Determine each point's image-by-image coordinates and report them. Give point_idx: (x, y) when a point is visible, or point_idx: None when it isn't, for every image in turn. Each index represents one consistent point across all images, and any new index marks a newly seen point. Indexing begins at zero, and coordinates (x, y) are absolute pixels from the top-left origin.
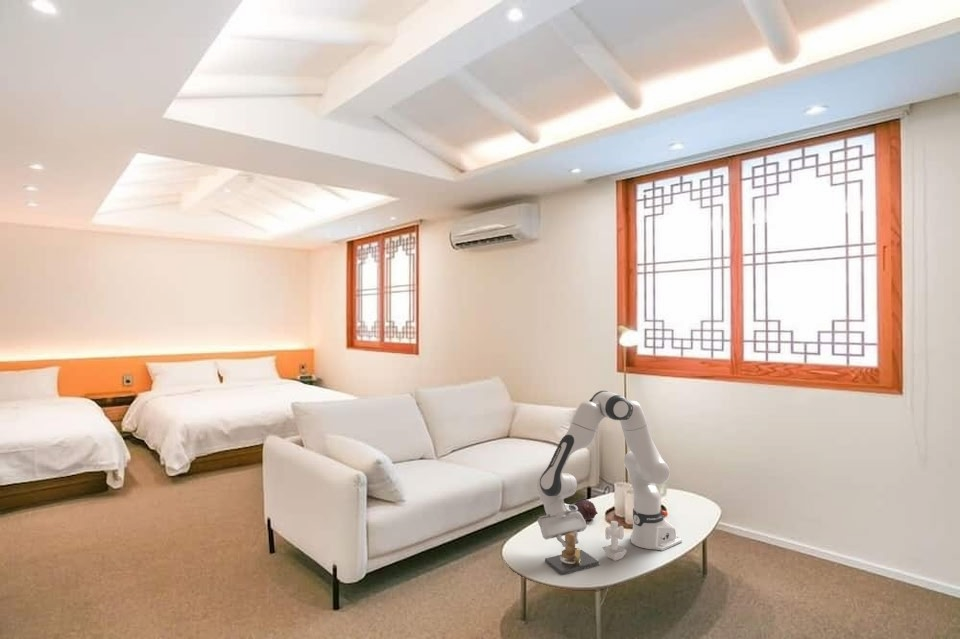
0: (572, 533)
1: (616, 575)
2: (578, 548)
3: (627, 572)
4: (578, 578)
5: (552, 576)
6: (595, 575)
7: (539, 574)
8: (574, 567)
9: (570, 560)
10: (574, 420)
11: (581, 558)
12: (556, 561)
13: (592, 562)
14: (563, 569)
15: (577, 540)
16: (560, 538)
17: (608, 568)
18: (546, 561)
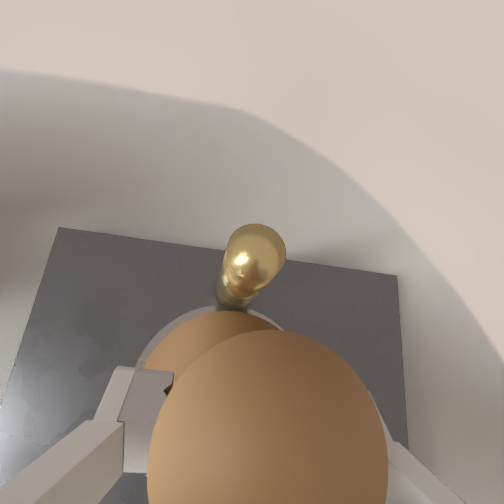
0: (187, 466)
1: (102, 94)
2: (234, 253)
3: (12, 76)
4: (315, 195)
5: (437, 299)
6: (206, 162)
7: (500, 367)
8: (289, 262)
9: None
10: None
11: (134, 348)
12: None
13: (118, 242)
14: (373, 284)
15: (122, 382)
16: (453, 495)
17: (60, 171)
18: None
